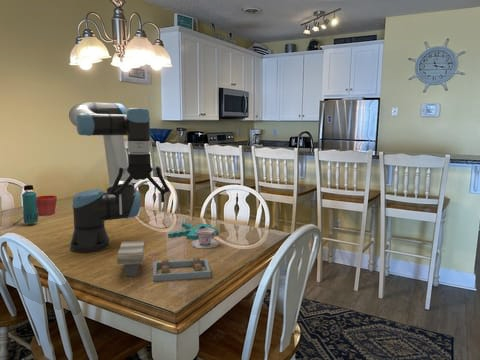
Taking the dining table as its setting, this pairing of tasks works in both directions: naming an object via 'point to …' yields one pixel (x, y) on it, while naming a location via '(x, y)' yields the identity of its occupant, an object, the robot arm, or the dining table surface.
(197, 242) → the teacup
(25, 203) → the beverage bottle
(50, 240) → the dining table surface
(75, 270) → the dining table surface
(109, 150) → the robot arm
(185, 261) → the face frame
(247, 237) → the dining table surface
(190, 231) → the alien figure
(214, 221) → the dining table surface
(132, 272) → the block
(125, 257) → the grey flat block
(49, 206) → the flower pot
